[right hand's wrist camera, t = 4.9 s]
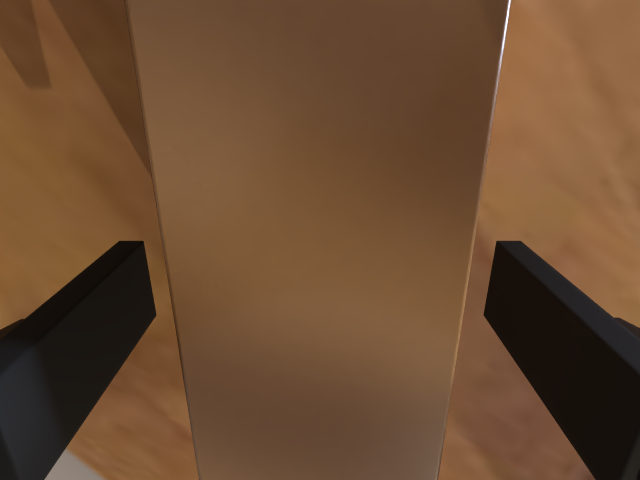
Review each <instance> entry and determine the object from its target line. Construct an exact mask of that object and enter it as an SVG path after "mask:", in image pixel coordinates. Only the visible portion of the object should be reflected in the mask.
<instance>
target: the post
mask: <svg viewBox="0 0 640 480" xmlns="http://www.w3.org/2000/svg"><path fill="white" fill-rule="evenodd" d="M124 1H125V7H126V14H127V20H128V27H129V33H130V39H131V46H132V52H133V59H134V65H135V71H136V78H137V84H138V91H139V97H140V103H141V110H142V116H143V123H144V129H145V135H146V142H147V148H148V155H149V161H150V168H151V174H152V180H153V187H154V193H155V200H156V206H157V212H158V219H159V225H160V232H161V238H162V244H163V251H164V257H165V264H166V270H167V276H168V283H169V289H170V296H171V302H172V308H173V315H174V321H175V328H176V334H177V341H178V347H179V353H180V360H181V366H182V373H183V379H184V385H185V392H186V398H187V405H188V411H189V417H190V424H191V430H192V437H193V443H194V449H195V456H196V462H197V469H198V475H199V480H438V477H439V470H440V464H441V457H442V451H443V444H444V438H445V431H446V424H447V418H448V411H449V405H450V398H451V392H452V385H453V379H454V372H455V365H456V359H457V352H458V346H459V339H460V333H461V326H462V320H463V313H464V306H465V300H466V293H467V287H468V280H469V274H470V267H471V261H472V254H473V247H474V241H475V234H476V228H477V221H478V215H479V208H480V202H481V195H482V188H483V182H484V175H485V169H486V162H487V156H488V149H489V143H490V136H491V129H492V123H493V116H494V110H495V103H496V97H497V90H498V84H499V77H500V70H501V64H502V57H503V51H504V44H505V38H506V31H507V25H508V18H509V11H510V5H511V0H124Z"/></svg>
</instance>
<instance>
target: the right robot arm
mask: <svg viewBox="0 0 640 480" xmlns="http://www.w3.org/2000/svg"><path fill="white" fill-rule="evenodd" d="M155 316H156V310H155V304H154V299H153V293H152V287H151V282H150V276H149V270H148V264H147V259H146V253H145V247H144V241H119V242H118V243H116V244H115V245H114V246H113V247H111V248H110V249H109V250H108V251H107V252H105V253H104V254H103V255H102V256H101V257H99V258H98V259H97V260H96V261H95V262H93V263H92V264H91V265H90V266H88V267H87V268H86V269H85V270H84V271H82V272H81V273H80V274H79V275H78V276H76V277H75V278H74V279H73V280H72V281H70V282H69V283H68V284H67V285H65V286H64V287H63V288H62V289H61V290H59V291H58V292H57V293H56V294H55V295H53V296H52V297H51V298H50V299H49V300H47V301H46V302H45V303H44V304H42V305H41V306H40V307H39V308H38V309H36V310H35V311H34V312H33V313H32V314H30V315H29V316H28V317H27V318H26V319H21V320H19V321H17V322H15V323H13V324H11V325H9V326H7V327H5V328H3V329H1V330H0V480H44V479H45V478H46V476H47V475H48V473H49V472H50V470H51V469H52V467H53V466H54V465H55V463H56V462H57V460H58V459H59V457H60V456H61V454H62V453H63V451H64V450H65V448H66V447H67V446H68V444H69V443H70V441H71V440H72V438H73V437H74V435H75V434H76V432H77V431H78V429H79V428H80V426H81V425H82V424H83V422H84V421H85V419H86V418H87V416H88V415H89V413H90V412H91V410H92V409H93V407H94V406H95V404H96V403H97V402H98V400H99V399H100V397H101V396H102V394H103V393H104V391H105V390H106V388H107V387H108V385H109V384H110V382H111V381H112V380H113V378H114V377H115V375H116V374H117V372H118V371H119V369H120V368H121V366H122V365H123V363H124V362H125V360H126V359H127V358H128V356H129V355H130V353H131V352H132V350H133V349H134V347H135V346H136V344H137V343H138V341H139V340H140V338H141V337H142V336H143V334H144V333H145V331H146V330H147V328H148V327H149V325H150V324H151V322H152V321H153V319H154V318H155ZM484 316H485V318H486V319H487V321H488V322H489V324H490V325H491V327H492V328H493V330H494V331H495V333H496V334H497V336H498V337H499V338H500V340H501V341H502V343H503V344H504V346H505V347H506V349H507V350H508V352H509V353H510V355H511V356H512V358H513V359H514V360H515V362H516V363H517V365H518V366H519V368H520V369H521V371H522V372H523V374H524V375H525V377H526V378H527V380H528V381H529V382H530V384H531V385H532V387H533V388H534V390H535V391H536V393H537V394H538V396H539V397H540V399H541V400H542V402H543V403H544V404H545V406H546V407H547V409H548V410H549V412H550V413H551V415H552V416H553V418H554V419H555V421H556V422H557V424H558V425H559V426H560V428H561V429H562V431H563V432H564V434H565V435H566V437H567V438H568V440H569V441H570V443H571V444H572V446H573V447H574V448H575V450H576V451H577V453H578V454H579V456H580V457H581V459H582V460H583V462H584V463H585V465H586V466H587V468H588V469H589V470H590V472H591V473H592V475H593V476H594V478H595V479H596V480H640V328H638V327H636V326H634V325H632V324H630V323H628V322H627V321H625V320H623V319H621V318H613V317H612V316H611V315H610V314H608V313H607V312H606V311H605V310H604V309H602V308H601V307H600V306H599V305H598V304H596V303H595V302H594V301H593V300H591V299H590V298H589V297H588V296H587V295H585V294H584V293H583V292H582V291H581V290H579V289H578V288H577V287H576V286H575V285H573V284H572V283H571V282H570V281H568V280H567V279H566V278H565V277H564V276H562V275H561V274H560V273H559V272H558V271H556V270H555V269H554V268H553V267H552V266H550V265H549V264H548V263H547V262H545V261H544V260H543V259H542V258H541V257H539V256H538V255H537V254H536V253H535V252H533V251H532V250H531V249H530V248H529V247H527V246H526V245H525V244H524V243H522V242H521V241H496V247H495V253H494V259H493V264H492V270H491V276H490V281H489V287H488V293H487V299H486V304H485V310H484Z"/></svg>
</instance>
